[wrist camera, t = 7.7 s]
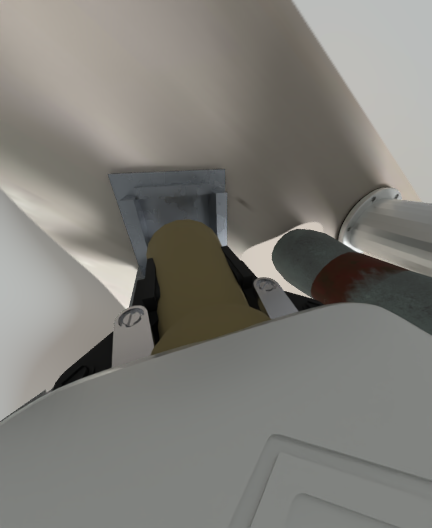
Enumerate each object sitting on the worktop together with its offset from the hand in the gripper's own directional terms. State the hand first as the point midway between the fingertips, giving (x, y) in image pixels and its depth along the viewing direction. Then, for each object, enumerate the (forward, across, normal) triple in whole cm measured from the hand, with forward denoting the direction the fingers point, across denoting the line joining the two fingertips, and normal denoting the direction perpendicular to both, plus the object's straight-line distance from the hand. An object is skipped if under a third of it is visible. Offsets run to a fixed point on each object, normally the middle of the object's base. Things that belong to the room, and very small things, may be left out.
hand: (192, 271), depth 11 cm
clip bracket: (+11, 0, 0) cm, 11 cm away
